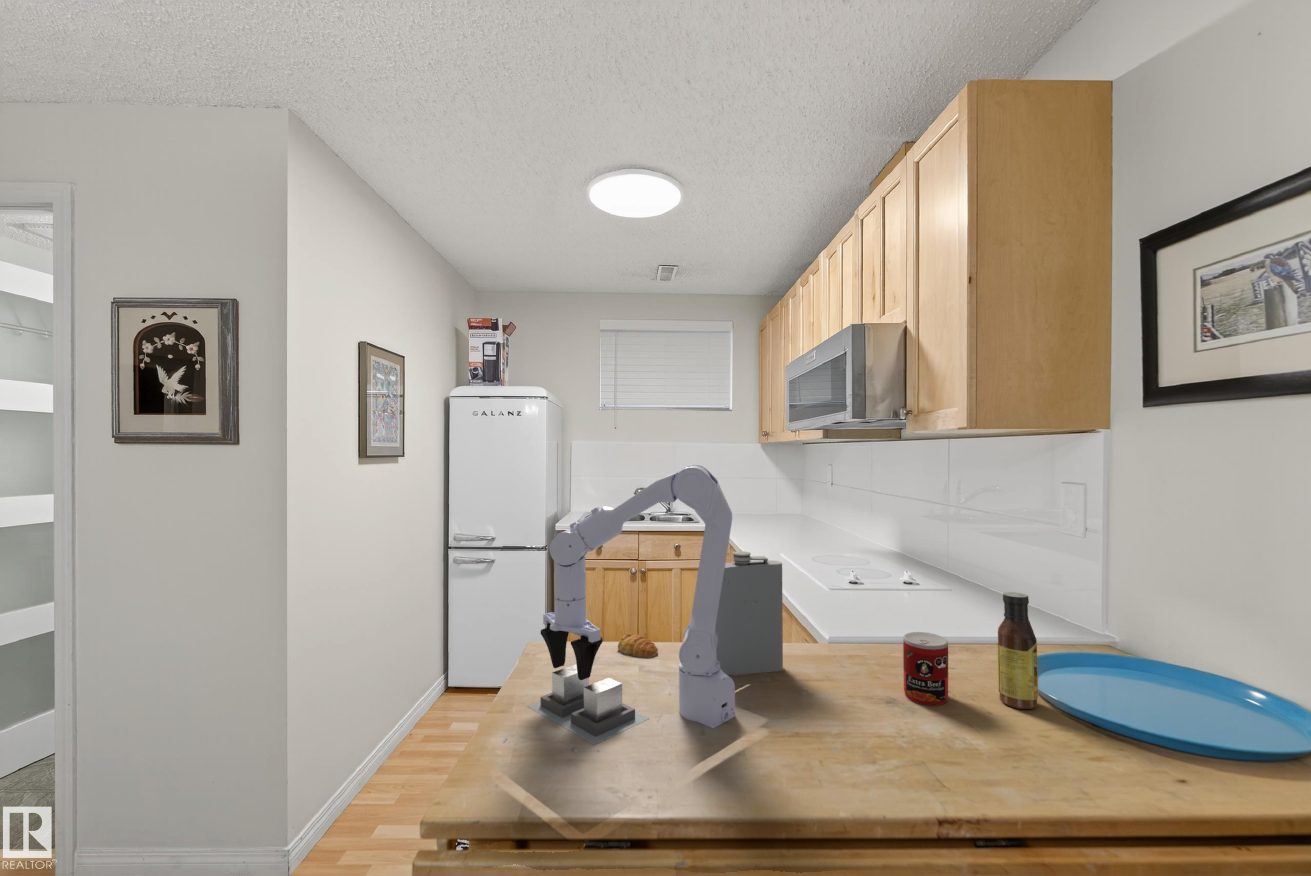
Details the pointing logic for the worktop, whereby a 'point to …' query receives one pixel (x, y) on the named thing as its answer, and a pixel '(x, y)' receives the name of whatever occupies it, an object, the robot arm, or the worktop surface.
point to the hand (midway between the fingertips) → (571, 672)
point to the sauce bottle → (1017, 654)
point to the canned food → (925, 668)
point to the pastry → (637, 646)
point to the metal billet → (567, 685)
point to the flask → (750, 616)
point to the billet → (602, 700)
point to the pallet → (583, 727)
